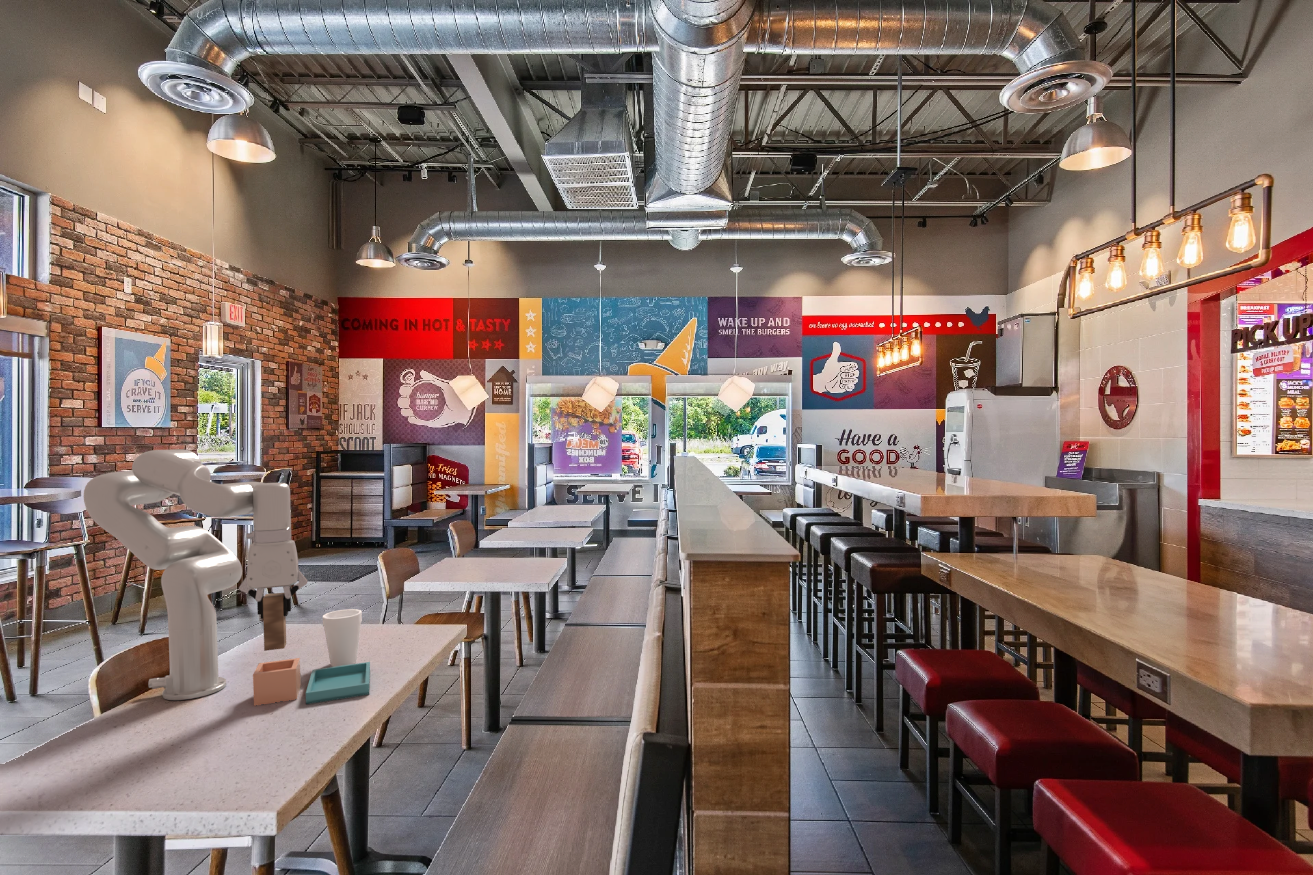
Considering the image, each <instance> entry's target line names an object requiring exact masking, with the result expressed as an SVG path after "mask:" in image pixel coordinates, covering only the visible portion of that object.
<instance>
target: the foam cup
mask: <svg viewBox="0 0 1313 875" xmlns="http://www.w3.org/2000/svg"><path fill="white" fill-rule="evenodd" d="M362 613H363V611H362V610H361V609H356V608H355V609H354V608H349V609H347V608H346V609H338V610H333V611H330V612H327V613H325V614H323V615H322V626H323V628H324V634H325V640H326V641H325V642H326V645H327V652H328V658H329V663H330V667H336V666H343V665H350V664H354V663H355V662H356V663H357V662H358V655H359V646H360V644H359V643H360V635H361V625H362V622H363V617H362V615H363V614H362ZM356 663H355V664H356Z"/></svg>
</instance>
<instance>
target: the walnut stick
mask: <svg viewBox="0 0 1313 875" xmlns="http://www.w3.org/2000/svg"><path fill="white" fill-rule="evenodd" d="M264 594H265V593H264ZM263 596H264V597H263V619H262V620H263V649H264V650H263V651H273V650H274V651H275V650H282V649H285V648H286V645H287V625H286V624H287V620H286V619H287V616H284V609H283V599H284V596H285V593H284V592H276V593H266V594H265V595H263Z"/></svg>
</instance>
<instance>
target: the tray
mask: <svg viewBox="0 0 1313 875" xmlns="http://www.w3.org/2000/svg"><path fill="white" fill-rule="evenodd" d="M370 684H371V662H370V661H366V662H365V661H364V662H358V663H357V662H356V663H355V664H350V665H343V666H336V667H332V666H329V667H323V668H316V669H312V670H311V674H310V677H309V681H308V684H307V688H306V691H305V704H306V705H309V704H310V705H311V704H317V703H323V702H329V701H336V700H342V699H343V700H344V699H348V698H349V699H350V698H355V697H364V696H369V695H370V688H371V687H370V686H371V685H370Z"/></svg>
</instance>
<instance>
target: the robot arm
mask: <svg viewBox="0 0 1313 875" xmlns="http://www.w3.org/2000/svg"><path fill="white" fill-rule="evenodd" d="M211 477H212V476H211V471H210V469H209V468H208V467H207V466H206V465H204V464H202V461H201V458H200V457H199V456H198V455H197V454H196V453H195V452H193V451H191V450H189V449H175V448H174V449H155V450H154V449H153V450H149V451H145V452H143V453H141V454H139V455H137V457H135V459H134V460H133V462H132V466H131V470H129V471H128V470H127V471H113V472H108V473H107V472H106V473H101V474H100V475H96V476H95V477H93V478H92V479H90V480H89V481H88V482H87V483H86V484H85V486H84V490H83V502H84V506H85V509H86V511H87V513H88V515H89V516H90V518H91V519H92V520H93V522H95V524H97V525H98V526H99V527H100V528H101V529H103V530H104V531H106V532H107V533H108V534H110V535H112V536H113V537H114V538H116V540H117V541H119V542H120V543H121V544H122V545H123V546H124V547H125V548H126V549H127V550H129V552H131V553H132V554H133V555H134V556H135V557H136V558H137V559H138V560H139V561H141V563H143V564H144V565H145V566H146V567H148V568H149V569H152V570H155V571H156V570H157V571H158V570H159V571H161V570H164V571H163V572H162V575H161V578H160V579H161V580H160V583H161V589H162V592H163V597H164V601H165V604H166V610H167V627H168V628H167V629H168V649H169V650H168V652H169V653H168V654H169V656H168V657H169V675H165V676H164V677H154V678H149V679H148V688H149V689H150V688H151V689H152V690H154V689H156V690H157V689H159V688H163V691H162V692H161V693H162V699H165V700H169V701H183V700H192V699H197V698H201V697H206V696H208V695H212V694H215V693H217V692H219V691H221V690H223V689H224V688H225V687H226V685H227V679H226V678H224V677H221V676H219V656H218V654H219V653H218V652H219V651H218V626H217V625H218V622H217V613H216V609H215V607H214V605H213V603H212V602H211V600H210V598H209V597H208V595H210V594H214V593H216V592H220V591H224V590H228V589H230V588H231V587H232V588H233V587H234V586H235V585H236V584H237V583H239V581H240V580H241V579H242V575H243V567H242V564H241V562H240V560H239V558H238V557H237V555H236V554H234V552H233V551H232V550H230V548H228V547H227V546H226V545H225V544H224V543H223V542H222V541H220V540H219V539H218V538H217V537H215V535H214V534H212V533H211V532H210V531H208V529H205V528H203V527H201V526H196V525H186V526H179V527H178V526H177V527H167V526H165V525H164V524H163V523H161V522H159V521H158V520H157V519H156V517H154V516H153V515H151V514H150V513H149V512H147V511H145V510H142V509H140V508H137V507H135V506H139V505H148V504H153V503H158V502H161V501H164V500H166V499H167V498H170V497H171V496H172V495H176V496H179V497H180V499H181V501H182V503H183V504H184V505H185V506H186V507H187V508H188V509H190V510H192V511H195V512H197V513H201V514H203V515H206V516H208V517H214V518H218V519H219V518H223V519H224V518H230V517H237V516H244V515H252V514H253V515H252V516H253V521H252V522H253V531H251V532H249V533H246V534H245V536H246V540H252V542H253V543H251V544H249V548H248V554H247V555H248V556H247V568H246V570H247V571H246V577H245V578H244V579H243V581H242V582H241V584H240V585H239V587H238V590H239V591H241V592H243V593H245V594H247V595H249V596H250V597H251V598H252V599H254V600H255V601H256V602H257V603H256V605H257V606H256V607H257V608H256V609H257V615H260V619H261V620H263V597H264V596H265V595H264V594H265V589H269V588H272V589H273V588H281V587H282V588H283V593H285V596H284V599H283V609H284V616H286V617H288V615H289V612H291V611H292V596H294V594H295V593H296V592H298V591H299V590H300V589H302V588H303V587H304V586H306V585H307V584H308V579H307V578H306V576H304V574H303V573H302V572H301V571H300V568H299V558H298V552H297V547H296V543H295V542H296V541H295V540H292V520H291V518H292V514H291V512H292V510H291V489H290V486H289V484H287V483H285V482H260V481H244V482H242V481H241V482H233V483H231V482H230V483H216V482H213V481H211V479H212V478H211Z"/></svg>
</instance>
